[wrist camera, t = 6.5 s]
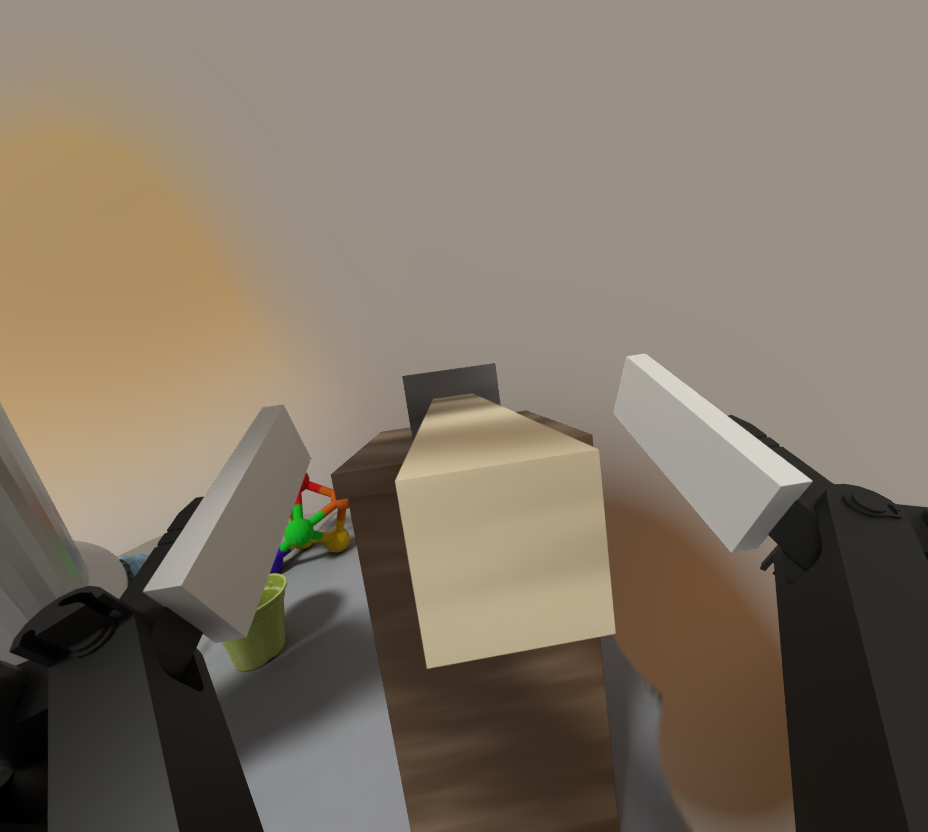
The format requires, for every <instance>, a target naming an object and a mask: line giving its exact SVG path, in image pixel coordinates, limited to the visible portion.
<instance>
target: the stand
mask: <svg viewBox="0 0 928 832" xmlns="http://www.w3.org/2000/svg"><path fill="white" fill-rule="evenodd" d="M516 413H518V414H520V415H522V416H525V417H527V418H529V419H531V420H534V421H536V422H538V423H540V424H543V425H545V426H547V427H549V428H552V429H554V430H556V431H558V432H561V433H563V434H565V435H567V436H570V437H572V438H574V439H576V440H579V441H581V442H583V443H585V444H588V445H590V446H592V447H593V437H592V434H589V433H586V432H584V431H581V430H578V429H575V428H573V427H570V426H567V425H564V424H562V423H559V422H556V421H553V420H551V419H548V418H545V417H542V416H540V415H537V414H534V413H531V412H529V411H519V412H516ZM412 443H413V439H412V433H411V428H404V429H397V430H390V431H384V432H380V433H379V434H378V435H377V436H376V437H374V438H373V439H372V440H371V441H370V442H369V443H368V444H367V445H365V446H364V447H363V448H362V449H361V450H359V451H358V452H357V453H356V454H355V455H353V456H352V457H351V458H350V459H349V460H347V461H346V462H345V463H344V464H343V465H342V466H340V467H339V468H338V469H337V470H336V471H335V472H333V473H332V474H331V478H332V483H333V488H334V494H335V499H336V500H342V499H348V502H349V507H350V512H351V518H352V523H353V528H354V533H355V539H356V544H357V549H358V554H359V560H360V565H361V570H362V576H363V581H364V586H365V591H366V597H367V602H368V607H369V612H370V618H371V623H372V628H373V633H374V639H375V644H376V649H377V655H378V660H379V665H380V670H381V676H382V681H383V686H384V691H385V697H386V702H387V707H388V713H389V718H390V723H391V728H392V734H393V739H394V744H395V749H396V755H397V760H398V765H399V770H400V776H401V781H402V786H403V792H404V797H405V802H406V807H407V813H408V818H409V823H410V828H411V832H619V823H618V812H617V802H616V792H615V782H614V772H613V762H612V752H611V741H610V731H609V721H608V711H607V701H606V691H605V681H604V670H603V660H602V650H601V640H600V637H595V638H590V639H585V640H579V641H574V642H568V643H563V644H558V645H552V646H547V647H542V648H536V649H531V650H525V651H520V652H515V653H509V654H504V655H498V656H493V657H488V658H482V659H477V660H472V661H466V662H461V663H455V664H450V665H445V666H439V667H434V668H428V669H427V666H426V660H425V654H424V648H423V642H422V636H421V631H420V625H419V619H418V613H417V607H416V601H415V595H414V590H413V584H412V578H411V572H410V566H409V560H408V554H407V549H406V543H405V537H404V531H403V525H402V519H401V513H400V508H399V502H398V496H397V490H396V484H395V480H396V478H397V476H398V474H399V471H400V469H401V467H402V465H403V463H404V461H405V459H406V456H407V454H408V452H409V450H410V448H411V446H412Z"/></svg>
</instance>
